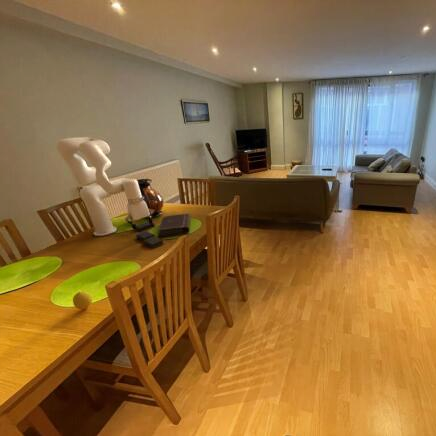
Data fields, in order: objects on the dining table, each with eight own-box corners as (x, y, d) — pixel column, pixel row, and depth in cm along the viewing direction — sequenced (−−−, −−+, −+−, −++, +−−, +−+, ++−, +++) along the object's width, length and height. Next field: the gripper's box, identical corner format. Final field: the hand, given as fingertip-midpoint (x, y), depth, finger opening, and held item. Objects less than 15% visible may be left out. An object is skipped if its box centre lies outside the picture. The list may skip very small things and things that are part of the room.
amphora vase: (142, 211, 195) (133, 177, 184) (170, 210, 197) (162, 176, 186) (129, 222, 175) (117, 185, 164) (160, 220, 177) (150, 183, 166)
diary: (190, 219, 178) (189, 212, 176) (189, 232, 157) (188, 226, 155) (163, 222, 173) (161, 216, 171) (158, 237, 151) (156, 230, 149)
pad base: (144, 244, 144) (142, 240, 143) (153, 240, 148) (152, 236, 147) (153, 248, 139) (152, 244, 138) (163, 243, 143) (162, 240, 142)
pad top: (139, 231, 160) (138, 228, 159) (135, 229, 163) (134, 226, 162) (154, 226, 168) (153, 222, 166) (149, 224, 170) (148, 221, 169)
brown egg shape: (83, 303, 97) (76, 288, 94) (98, 302, 98) (91, 287, 95) (73, 314, 92) (65, 297, 89) (88, 313, 93) (81, 296, 89)
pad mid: (136, 238, 151) (135, 234, 150) (146, 234, 156) (145, 230, 155) (145, 241, 146) (144, 238, 145) (155, 238, 151) (154, 234, 150)
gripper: (146, 195, 150) (153, 220, 156) (116, 203, 136) (125, 230, 143) (153, 197, 146) (160, 222, 153) (122, 205, 133) (131, 233, 139)
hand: (143, 226), depth 148 cm, fingers open, 9 cm apart
